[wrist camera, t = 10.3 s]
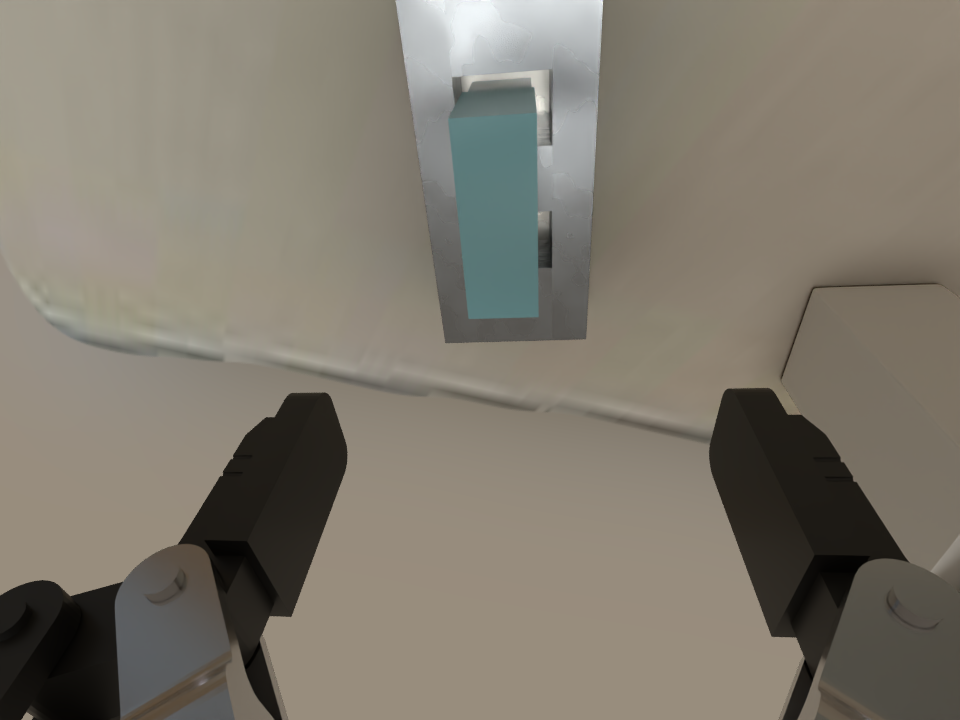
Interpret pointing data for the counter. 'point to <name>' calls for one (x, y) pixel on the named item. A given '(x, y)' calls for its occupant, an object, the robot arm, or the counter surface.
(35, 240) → the counter surface
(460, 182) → the teal elongated block
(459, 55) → the grey socket block
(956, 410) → the milk carton
